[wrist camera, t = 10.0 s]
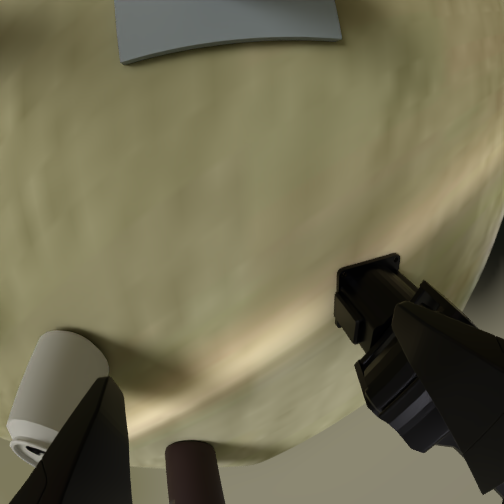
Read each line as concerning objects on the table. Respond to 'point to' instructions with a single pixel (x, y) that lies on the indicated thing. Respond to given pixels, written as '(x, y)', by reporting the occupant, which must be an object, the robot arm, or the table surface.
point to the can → (52, 390)
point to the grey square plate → (218, 24)
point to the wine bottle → (193, 474)
